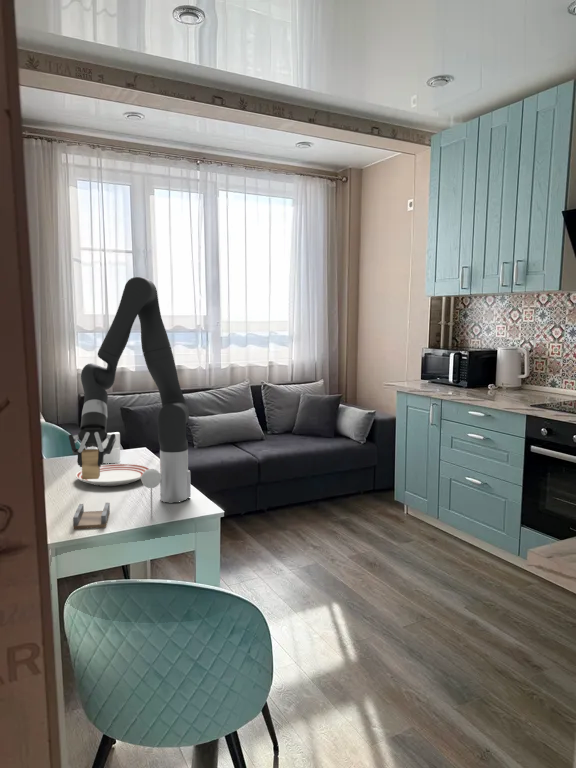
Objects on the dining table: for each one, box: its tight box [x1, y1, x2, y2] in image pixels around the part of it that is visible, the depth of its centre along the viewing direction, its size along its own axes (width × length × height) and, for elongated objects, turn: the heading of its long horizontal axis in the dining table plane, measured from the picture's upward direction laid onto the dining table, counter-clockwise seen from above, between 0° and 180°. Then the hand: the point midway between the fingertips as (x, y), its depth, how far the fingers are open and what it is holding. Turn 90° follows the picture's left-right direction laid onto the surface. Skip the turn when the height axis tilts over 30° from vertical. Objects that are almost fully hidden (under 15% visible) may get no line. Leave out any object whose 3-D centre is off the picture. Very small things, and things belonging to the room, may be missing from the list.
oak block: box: [81, 448, 100, 479], centre depth 165 cm, size 4×4×8 cm
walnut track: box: [72, 502, 111, 530], centre depth 167 cm, size 12×9×4 cm
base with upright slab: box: [102, 431, 121, 465], centre depth 236 cm, size 9×9×12 cm
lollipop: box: [140, 468, 162, 517], centre depth 171 cm, size 6×6×15 cm
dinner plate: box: [74, 463, 151, 487], centre depth 210 cm, size 27×27×3 cm
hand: (90, 465), depth 163 cm, fingers closed on oak block, 4 cm apart
